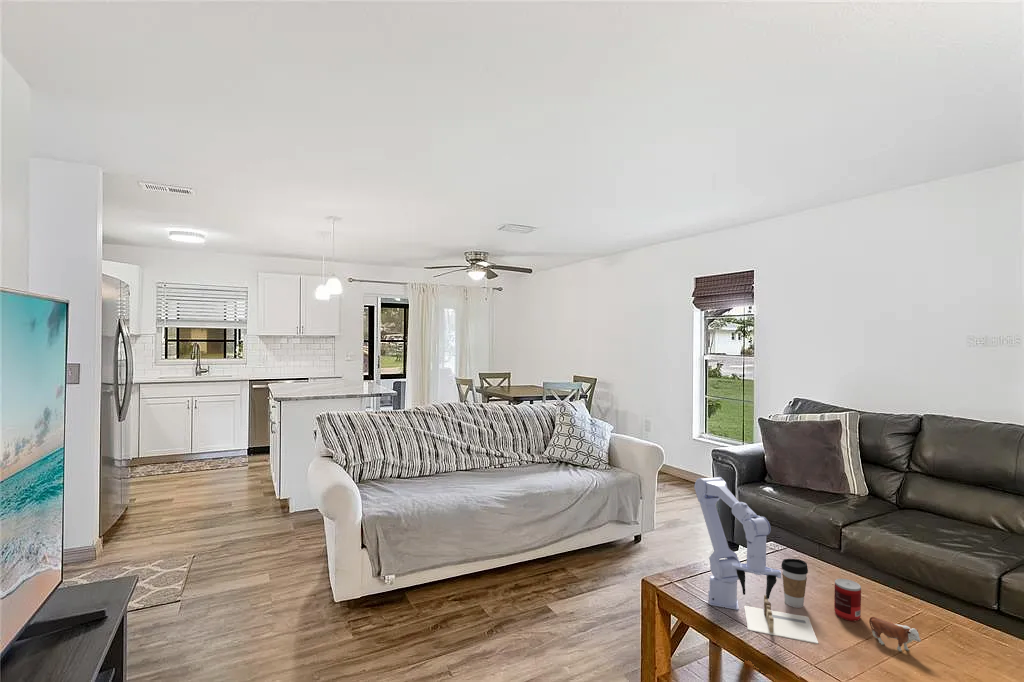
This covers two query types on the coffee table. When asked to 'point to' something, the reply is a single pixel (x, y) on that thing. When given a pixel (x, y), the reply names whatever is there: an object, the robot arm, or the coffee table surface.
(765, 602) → the wooden pieces
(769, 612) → the fence panel
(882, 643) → the bull figurine
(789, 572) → the coffee cup
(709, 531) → the robot arm
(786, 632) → the card
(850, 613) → the canned food
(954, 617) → the coffee table surface
